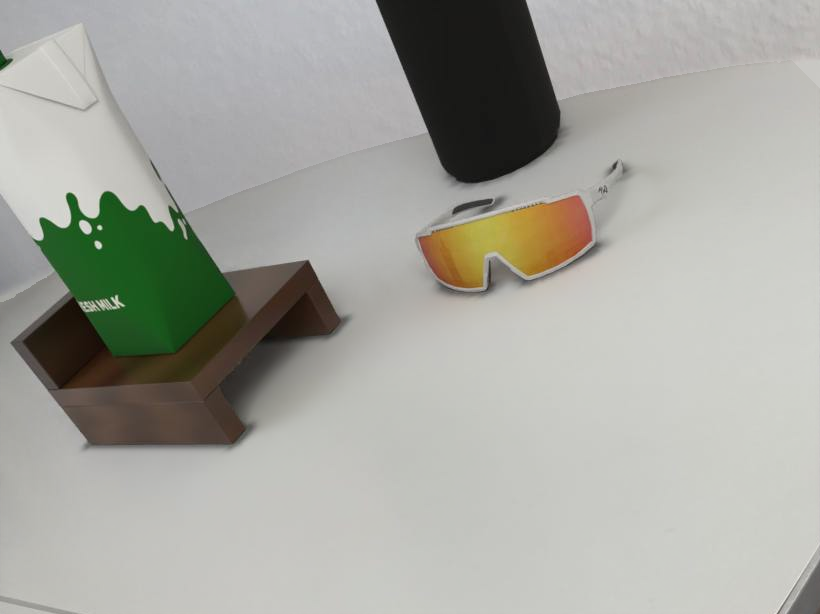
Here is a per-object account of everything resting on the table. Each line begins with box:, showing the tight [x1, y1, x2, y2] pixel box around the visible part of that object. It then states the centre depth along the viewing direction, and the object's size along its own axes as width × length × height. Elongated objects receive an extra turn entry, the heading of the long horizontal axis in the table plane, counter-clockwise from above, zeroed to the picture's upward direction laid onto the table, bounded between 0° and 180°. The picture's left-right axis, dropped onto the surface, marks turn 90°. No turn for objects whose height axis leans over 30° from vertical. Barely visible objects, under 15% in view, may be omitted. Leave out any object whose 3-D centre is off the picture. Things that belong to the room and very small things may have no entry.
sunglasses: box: [414, 158, 624, 293], centre depth 69 cm, size 14×15×5 cm
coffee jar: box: [374, 0, 562, 184], centre depth 77 cm, size 11×11×18 cm
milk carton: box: [0, 22, 236, 357], centre depth 64 cm, size 9×9×20 cm
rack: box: [10, 259, 342, 445], centre depth 71 cm, size 16×14×9 cm
